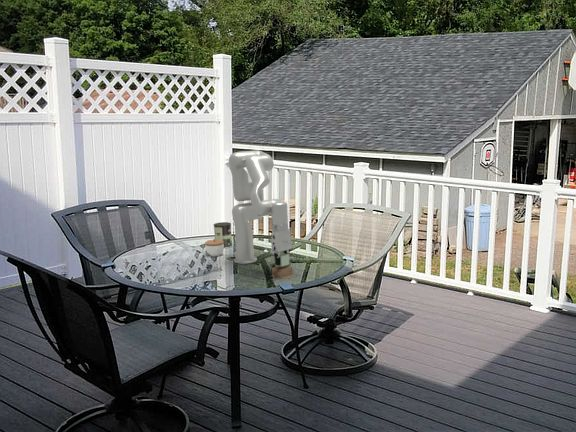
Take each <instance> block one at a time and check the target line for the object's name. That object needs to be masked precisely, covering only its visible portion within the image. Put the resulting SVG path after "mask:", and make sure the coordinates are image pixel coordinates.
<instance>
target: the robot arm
mask: <svg viewBox="0 0 576 432" xmlns="http://www.w3.org/2000/svg"><path fill="white" fill-rule="evenodd" d="M228 167H229V170H230V173H231V177H232V189H233V197H234V200H235V201H237V202H244V203H238V204H236V205H234V206H233V207H232V209H231V214H232V218H233V224H234V234H235V238H234V239H235V251H234V252H233V253H232V256H234V257H235V258H233V262H234V263H235V264H239V265H241V264H242V265H245V264H246V265H248V264H252V263H256V262H257V261H258V258H257V257H256V256H255V249H254V232H253V231H254V230H253V227H252V225H251V224H250V223H249V221H255V220H260V219H262V218H263V217H267V216H271V222H272V226H271V230H272V232H271V243H270V244H271V245H270V246H271V248H270V249H269V250H270V251H269V253H270V254H271V255H272V257H273V256H274V257H275V262H274V266H275V265H278V266H280V265H281V262H280V257H279V256H280V252H282V251H283V252H284V253H285V254H289V255H290V252H291V249H292V248H293V244H292V243H293V242H292V235H291V234H292V233H291V231H290V228H289V219H288V217H289V216H288V213H289V212H288V204H287V202H286V201H284V200H283V201H282V200H281V199H278V198H272V199H266V200H265V199H264V191H263V189H264V188H266V187H267V186H268V185H269V184H270V181H271V180H270V178H269V175H268V172H269V171H272V170H273V168H274V160H273V157H272V156H271V155H270V154H268V153H266V152H263V151H261V150H260V149H259V150H257V149H256V150H242V151H237V152H236V151H235V152H232V153H231V154H230V155H229V157H228ZM245 168H246V169H245ZM267 171H268V172H267ZM249 177H250V180H251V182H250V181H249ZM245 201H246V202H245ZM247 201H250V202H247ZM277 252H278V253H277ZM274 257H273V258H274Z"/></svg>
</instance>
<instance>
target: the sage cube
mask: <svg viewBox="0 0 576 432" xmlns="http://www.w3.org/2000/svg"><path fill="white" fill-rule="evenodd" d="M279 257H280V262H281V265H280V266H285V265H287V266H288V265H290V253H289V254H285V253H280V256H279Z"/></svg>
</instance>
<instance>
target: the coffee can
mask: <svg viewBox="0 0 576 432" xmlns="http://www.w3.org/2000/svg"><path fill="white" fill-rule="evenodd" d="M213 229H214V239H215V240H223V241H224V248H226V249H229V248H228V247H230V248H232V247H233V240H232V239H233V238H232V223H231V222H227V221H226V222H224V221H223V222H216V223H214V224H213ZM231 246H232V247H231Z"/></svg>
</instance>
